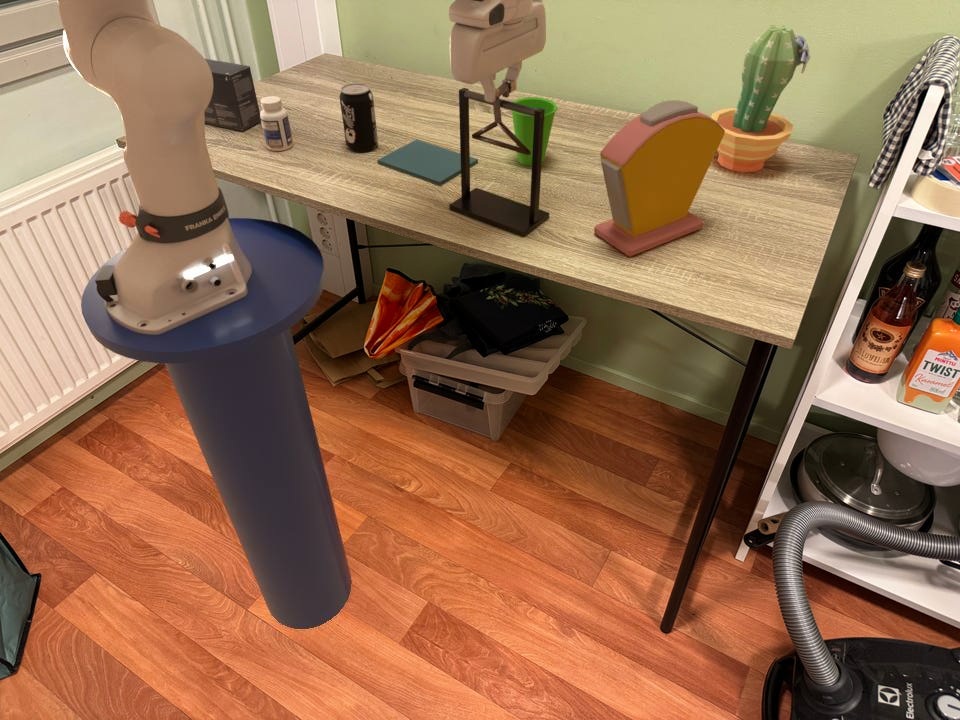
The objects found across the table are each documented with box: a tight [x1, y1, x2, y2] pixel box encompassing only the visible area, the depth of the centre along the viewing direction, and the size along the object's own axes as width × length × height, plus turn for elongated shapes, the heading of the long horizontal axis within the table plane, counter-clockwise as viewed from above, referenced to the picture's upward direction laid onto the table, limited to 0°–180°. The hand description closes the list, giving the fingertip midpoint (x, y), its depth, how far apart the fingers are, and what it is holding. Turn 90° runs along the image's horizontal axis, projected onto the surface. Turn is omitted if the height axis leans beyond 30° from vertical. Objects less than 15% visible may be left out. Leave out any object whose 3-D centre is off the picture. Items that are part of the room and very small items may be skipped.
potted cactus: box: [710, 24, 811, 173], centre depth 127 cm, size 15×15×25 cm
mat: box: [377, 139, 479, 187], centre depth 135 cm, size 12×16×1 cm
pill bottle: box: [260, 95, 294, 152], centre depth 138 cm, size 5×5×10 cm
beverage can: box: [339, 82, 379, 153], centre depth 137 cm, size 7×7×12 cm
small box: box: [204, 58, 261, 132], centre depth 147 cm, size 13×7×12 cm, turn 65°
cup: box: [511, 96, 558, 167], centre depth 132 cm, size 9×9×11 cm
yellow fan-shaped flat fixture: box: [593, 99, 725, 258], centre depth 108 cm, size 22×9×22 cm, turn 123°
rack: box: [448, 87, 550, 238], centre depth 113 cm, size 8×16×20 cm, turn 53°
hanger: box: [471, 83, 531, 155], centre depth 109 cm, size 3×12×10 cm, turn 53°
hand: (500, 96), depth 106 cm, fingers closed on hanger, 3 cm apart
